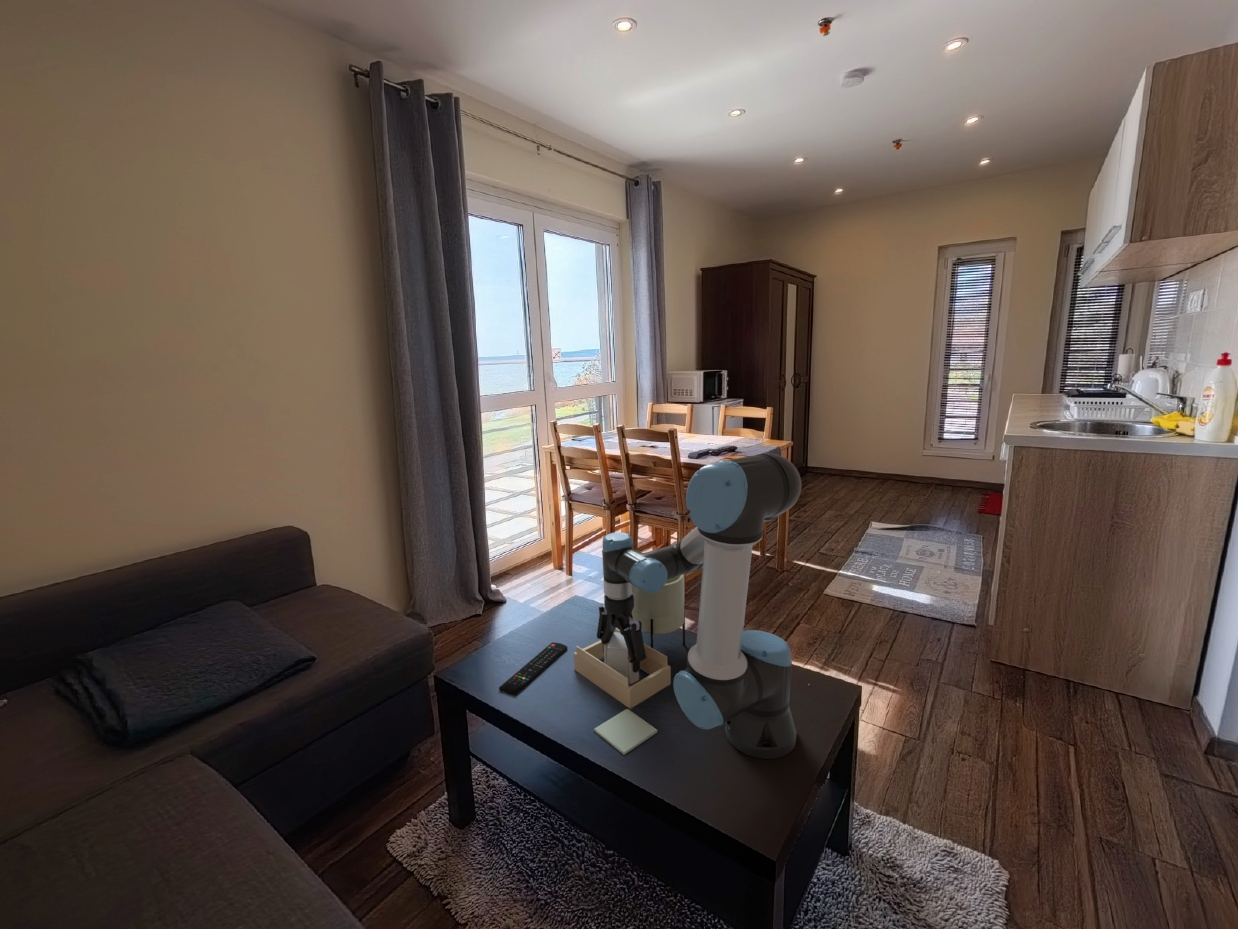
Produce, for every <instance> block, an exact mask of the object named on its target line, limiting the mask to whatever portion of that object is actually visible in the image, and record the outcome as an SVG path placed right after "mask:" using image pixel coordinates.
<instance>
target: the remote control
mask: <svg viewBox="0 0 1238 929" xmlns="http://www.w3.org/2000/svg"><path fill="white" fill-rule="evenodd" d="M567 650H568V646H567V645H565V644H563V643H560V642H551V643H549V645H548V646H546V647H545V648H544V649H543V650H542V651H540V652H539V653H538V654H537V655H535V656H534V657H533V658H532V659H531V660H529V662H527V663H526V664H524V666H522V667H521V668H520V669H519V670H518V671H516V672H515V673H514V674H513V675H512V676H510V678H508V679H507V680H506V681H505V682H504V683H502V685H500V686H499V687H498V690H499V691H500V692H503V691H504V692H503V693H505V692H506V694H508V693H509V695H512V696H514V695H515V697H516V696H517V695H519V693H520V692H521V691H523V690H524V689H525V688H526V687H527V686H529V684H531V683H532V681H534V680H535V679H536V678H537V677H538V676H539V675H540V674H541V673H543V672H544V671H545V670H546V669H547V668H548V667H549V666H550V665H552V663H554V662H555V661H556V660H557V659H558V658H559V657H560V656H561V655H563V654H564V653H565V652H567Z"/></svg>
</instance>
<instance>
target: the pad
mask: <svg viewBox="0 0 1238 929" xmlns="http://www.w3.org/2000/svg"><path fill="white" fill-rule="evenodd" d="M593 730H594V732H595V733H596V734H597V735H599V736H600V737H601V738H603V740H605V741H606V742H607V743H608V744H610V746H612V747H613V748H615V749H616V750H618V752H620V753H621V754H622V755H624V756H625V755H626V754H627V753H629V752H631V751H632V750H634V749H636V747H638V746H639V745H641V744H642V743H644V742H645V741H646V740H648V739H649V738H651V737H652V736H654V735H655V734H657V733H658V729H656V728H655V727H654V726H652V725H651V724H650V723H649V722H646V721H645V720H644V719H643V718H641V717H640V716H638V715H637V714H636V713H634V712H633V711H631V709H629V708H626V709H624V710H622V711H621V712H619V713H618V714H616V715H614V716H613V717H611V718H608V719H607V720H606V721H604V722H603V723H601V724H600V725H598V726H596V727H594V729H593Z"/></svg>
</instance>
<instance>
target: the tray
mask: <svg viewBox="0 0 1238 929" xmlns="http://www.w3.org/2000/svg"><path fill="white" fill-rule="evenodd" d="M614 632H617V633H620V630H619V629H618V628H616V629H615V631H614ZM644 648H645V653H646V659H644V660H642V661H640V670H642V671H643V672H645V673H647V674H649V675H648V676H646V677H644V678H642V679H640V680H638V681H636V682H635V683H633V684H631V685H629V686H628V678H626V677H625V676H623V675H622V674H620V673H619V672H617V671H615V670H614V669H612V668H611V667H609V666H608V665H606V664H605V663H604V661H601V660H602V659H604V653H603V643H602V642H601V639H599V640H597V641H596V642H594V643H592V644H590V645H588V646H585V647H584V648H581V647H579V645H576V646H575V652H573V659H574V660H573V662H574V663H573V664H574V665H573V666H574V671H575V672H577V673H579V674H580V675H582V676H583V677H584V678H585V679H587V680H589V682H591V683H593V685H596V686H597V687H599V688H600V689H601V690H603V691H604V692H605V693H606V694H609V695H610V696H611V697H613V698H614V699H616V700H617V701H619V702H620V703H621V704H623V705H624V706H625V707H627V709H629V710H632V708H634V707H636V706H638V705H639V704H641V703H642V702H645V701H646V700H647V699H649V698H651V697H652V696H653V695H655V694H657V693H658V692H660V691H662V690H663V689H665V688H667V687H668V686H670V685H671V684H672V683H671V682H672V679H671V678H672V677H671V665H669V664H668V656H667V655H666V654H663V653H661V652H660V651H658V650H656V649H653V648H651V646H649V645H647V644H646V643H644ZM634 656H635V655H634Z"/></svg>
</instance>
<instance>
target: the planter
mask: <svg viewBox="0 0 1238 929" xmlns="http://www.w3.org/2000/svg"><path fill="white" fill-rule="evenodd" d="M633 586H634V585H633ZM633 594H634V608H633V610H632V616H633V620H635V621H636V622H637V621H641V623H642V626H641V631H642V633H646V634H650V647H651V648H653V649H654V647H655V646H654V637H655V635H661V634H668V633H672V632H675V631H677V630H679V629H680V628H681V636H682V638H681V643H682V645H683V646H685V645H686V601H685V574H683V575H680V576H676V577H674V578H671V579H668V580H667V581H666V583H665V585H664V586H663V587H661V588H660V590H659V591H657V592H655V593H648V592H645V591H643V590H640V589H638V588H636V587H635V586H634V592H633Z"/></svg>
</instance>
